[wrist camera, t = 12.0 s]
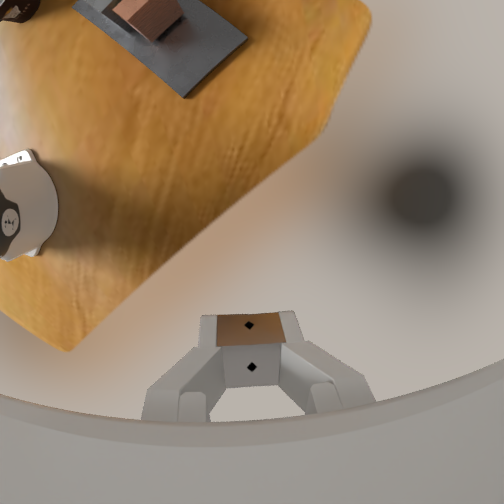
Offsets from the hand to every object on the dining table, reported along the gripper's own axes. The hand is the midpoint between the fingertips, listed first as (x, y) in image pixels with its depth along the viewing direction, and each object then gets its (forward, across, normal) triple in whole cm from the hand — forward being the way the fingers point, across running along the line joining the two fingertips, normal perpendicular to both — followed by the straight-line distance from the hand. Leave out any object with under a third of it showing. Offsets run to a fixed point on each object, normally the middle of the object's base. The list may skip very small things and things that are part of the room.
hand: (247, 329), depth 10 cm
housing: (+36, +12, -25) cm, 45 cm away
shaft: (+34, +14, -27) cm, 46 cm away
